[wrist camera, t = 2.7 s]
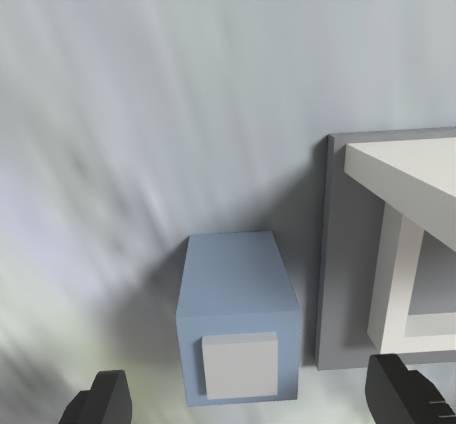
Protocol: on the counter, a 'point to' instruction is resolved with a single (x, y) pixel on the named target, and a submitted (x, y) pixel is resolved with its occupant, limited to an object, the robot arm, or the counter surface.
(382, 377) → the robot arm
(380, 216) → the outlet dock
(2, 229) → the counter surface
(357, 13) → the counter surface
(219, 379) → the block
